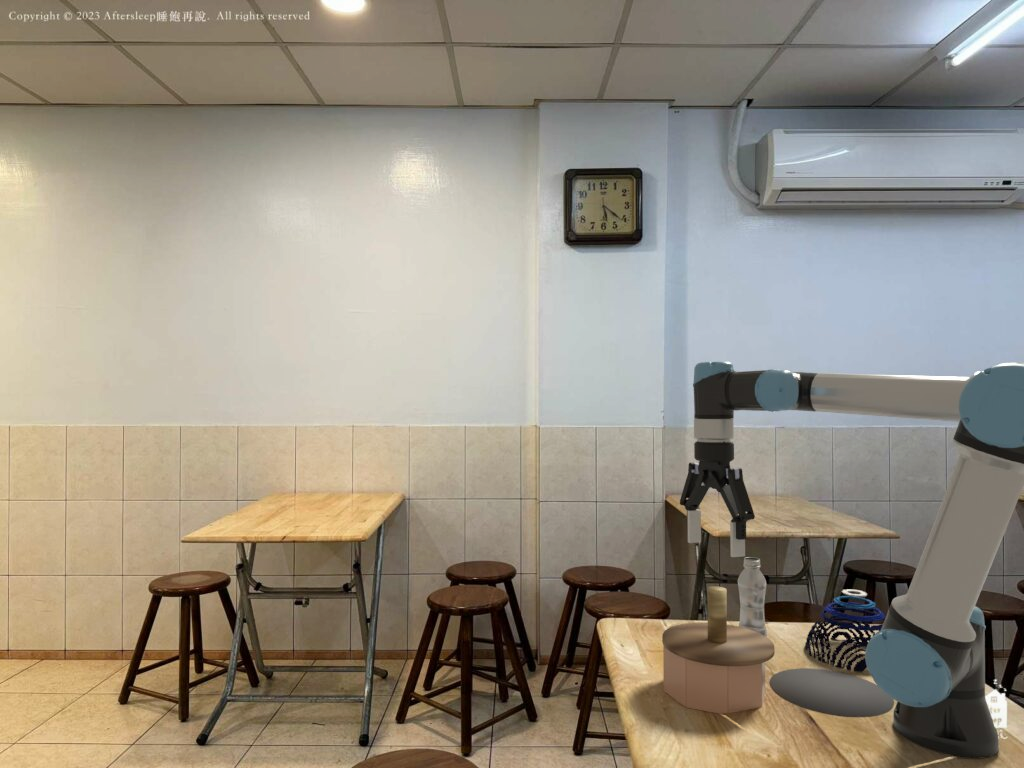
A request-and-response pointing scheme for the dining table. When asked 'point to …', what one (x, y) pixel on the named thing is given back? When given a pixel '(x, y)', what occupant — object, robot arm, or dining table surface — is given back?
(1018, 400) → the robot arm
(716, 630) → the lid
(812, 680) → the mat
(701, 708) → the bowl
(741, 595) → the plastic bottle
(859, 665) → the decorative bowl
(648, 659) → the dining table surface
